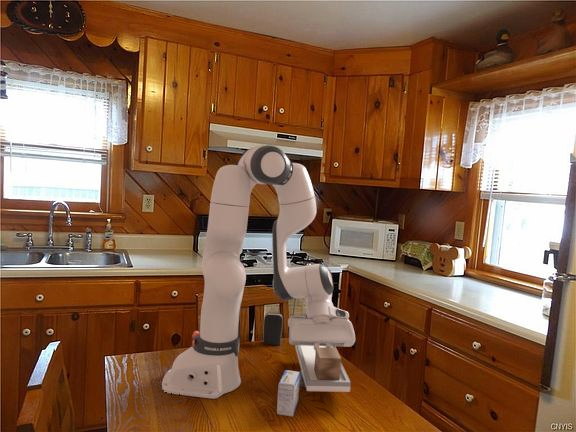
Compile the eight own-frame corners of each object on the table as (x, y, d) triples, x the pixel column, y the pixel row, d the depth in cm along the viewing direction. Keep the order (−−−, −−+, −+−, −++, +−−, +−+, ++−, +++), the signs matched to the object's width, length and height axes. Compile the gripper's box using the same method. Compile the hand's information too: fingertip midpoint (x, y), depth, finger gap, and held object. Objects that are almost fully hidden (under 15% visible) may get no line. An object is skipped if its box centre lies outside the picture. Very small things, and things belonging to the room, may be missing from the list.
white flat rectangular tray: (306, 391, 109) (307, 381, 109) (295, 347, 137) (295, 339, 137) (349, 391, 110) (350, 382, 110) (330, 348, 138) (330, 340, 138)
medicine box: (293, 417, 104) (295, 385, 103) (276, 414, 105) (278, 382, 104) (298, 401, 112) (300, 371, 111) (282, 398, 112) (284, 369, 112)
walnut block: (318, 382, 112) (319, 357, 111) (314, 370, 118) (315, 347, 118) (339, 382, 112) (341, 358, 111) (334, 370, 119) (336, 347, 118)
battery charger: (281, 341, 153) (283, 312, 152) (281, 345, 149) (283, 315, 148) (262, 340, 152) (264, 310, 151) (262, 344, 149) (264, 314, 148)
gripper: (288, 310, 125) (289, 354, 116) (353, 312, 126) (359, 356, 118) (286, 319, 129) (287, 362, 120) (349, 321, 131) (354, 363, 122)
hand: (323, 359), depth 119 cm, fingers closed
